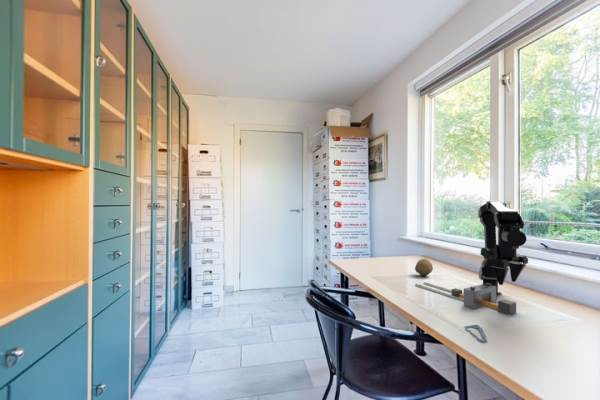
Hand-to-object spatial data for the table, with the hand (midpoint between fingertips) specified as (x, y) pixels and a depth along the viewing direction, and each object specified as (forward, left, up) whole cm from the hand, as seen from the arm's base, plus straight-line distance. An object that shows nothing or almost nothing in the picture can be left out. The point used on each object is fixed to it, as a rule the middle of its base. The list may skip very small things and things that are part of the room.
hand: (507, 283), depth 106 cm
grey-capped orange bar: (0, -10, -11) cm, 15 cm away
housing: (+1, -24, -11) cm, 26 cm away
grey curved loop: (+29, +5, -12) cm, 32 cm away
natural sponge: (-16, -49, -11) cm, 53 cm away
